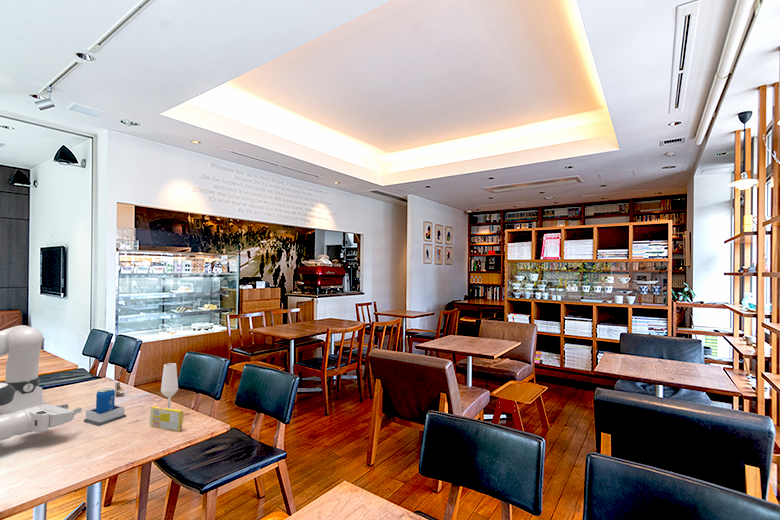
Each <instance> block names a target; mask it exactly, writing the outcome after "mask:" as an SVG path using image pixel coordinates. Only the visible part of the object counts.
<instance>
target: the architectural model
mask: <svg viewBox="0 0 780 520" xmlns="http://www.w3.org/2000/svg"><path fill="white" fill-rule="evenodd" d="M120 383H121V382H120V381H118V382H117V381H114V391H115V397H117V396H119V395H120V392H124V391H125V389H124V387H122V386H121V385H120ZM118 394H119V395H118Z"/></svg>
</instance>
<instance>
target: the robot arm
mask: <svg viewBox="0 0 780 520" xmlns="http://www.w3.org/2000/svg"><path fill="white" fill-rule="evenodd" d="M43 340H44V339H43V334H42V332H41V331H40V330H39V329H37V328H35V327H32V326H30V325H29V326H28V325H24V324H23V325H22V324H21V325H15V326H12V327H10V328H5V329H2V330H0V357H2V356H5V355H7V354H8V355H7V359H6V363H5V381H3V382H0V442H1V441H4V440H8V439H10V438H12V437H15V436H21V435H25V434H28V433H33V432H34V433H35V432H37V433H38V432H39V433H41V432H45V431H49V429H51V428H56V427H58V426H61V425H64V424H67V423H69V422H71V421H73V420H74V417H75V415H77V414H79V413H82V411H83V410H82V409H83V408H82V407H79V406H78V407H75V408H74V409H69V404H68V403H64V404H56V405H54V404H53V405H52V404H50V403H47V401H44V393H43V388H42V387H41V386H39V385H40V376H39V362H40V361H39V360H40V356H41V352H42V351H41V350H42V344H43Z"/></svg>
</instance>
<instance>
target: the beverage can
mask: <svg viewBox="0 0 780 520" xmlns="http://www.w3.org/2000/svg"><path fill="white" fill-rule="evenodd" d="M95 396H96V397H95V398H96V402H95V403H96V404H95V408H96V412H97V413H104V412H107V411H111V410H114V405H115V398H116V396H115V387H105V388H104V387H103V388H100V389H98V390H97V392H96V395H95Z"/></svg>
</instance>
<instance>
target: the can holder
mask: <svg viewBox="0 0 780 520" xmlns="http://www.w3.org/2000/svg"><path fill="white" fill-rule="evenodd" d="M124 417H125V418H126V417H127V414H125V406H121V405H117V404H114V410H111V411H107V412H104V413H97V412H96V407H94V408H92V409H88V410H85V418H84V419H83V422H84V423H87V424H91V425H94V426H97V427H100V425H101V426H103V424H104V425H106V423H107V424H109V422H110V423H113V422H116V421H119V420H121V418H122V419H124ZM118 419H119V420H118ZM115 420H116V421H115ZM112 421H113V422H112Z"/></svg>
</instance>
